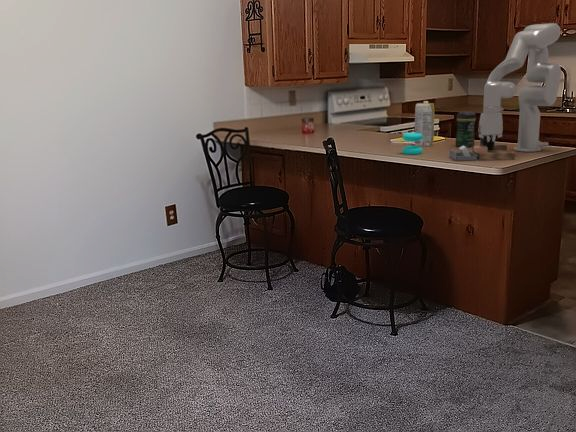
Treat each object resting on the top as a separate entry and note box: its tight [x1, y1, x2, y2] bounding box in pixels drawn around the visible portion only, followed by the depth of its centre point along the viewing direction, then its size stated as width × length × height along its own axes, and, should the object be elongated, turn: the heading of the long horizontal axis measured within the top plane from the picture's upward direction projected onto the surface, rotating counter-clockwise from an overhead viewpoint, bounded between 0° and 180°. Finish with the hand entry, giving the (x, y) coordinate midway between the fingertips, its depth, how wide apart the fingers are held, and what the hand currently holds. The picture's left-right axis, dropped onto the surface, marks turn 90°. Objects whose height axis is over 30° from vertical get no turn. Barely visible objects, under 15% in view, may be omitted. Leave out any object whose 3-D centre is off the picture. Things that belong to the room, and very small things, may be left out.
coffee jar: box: [455, 110, 477, 148], centre depth 310 cm, size 10×8×19 cm
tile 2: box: [474, 145, 488, 153], centre depth 275 cm, size 5×5×2 cm
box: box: [449, 148, 478, 162], centre depth 276 cm, size 10×12×4 cm
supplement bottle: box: [479, 135, 496, 146], centre depth 290 cm, size 7×7×12 cm
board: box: [471, 144, 516, 161], centre depth 275 cm, size 16×12×5 cm
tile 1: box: [458, 146, 471, 157], centre depth 275 cm, size 5×5×2 cm
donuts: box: [401, 132, 423, 156], centre depth 296 cm, size 10×10×10 cm
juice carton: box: [414, 100, 435, 147], centre depth 319 cm, size 9×8×24 cm
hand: (489, 149), depth 275 cm, fingers closed
